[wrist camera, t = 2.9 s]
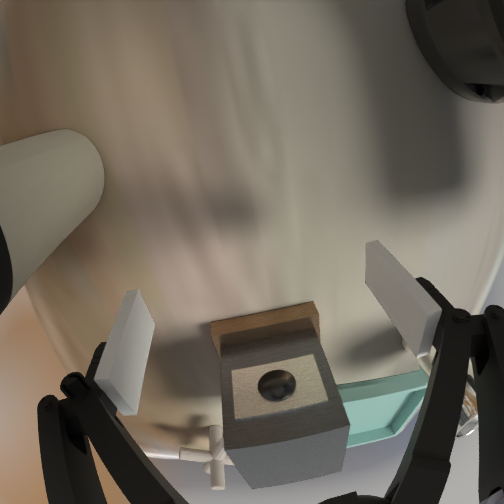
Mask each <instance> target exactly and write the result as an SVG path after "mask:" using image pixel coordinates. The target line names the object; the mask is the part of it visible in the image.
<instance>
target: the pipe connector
mask: <svg viewBox="0 0 504 504" xmlns="http://www.w3.org/2000/svg"><path fill="white" fill-rule="evenodd" d="M209 441H210V451H206V450H198V449H191V448H184V447H180V451H179V459H182V460H190V461H197V462H205V463H204V465H203V471H204V472H206V473H210V477H211V489H213V490H223V489H225V477H224V464H227V465H234V464H233V462H232V461H231V460H230V458H229V457H228V455H227V454H226V452H225V451H224V437H222V427H221V426H219V425H212V426H210V427H209Z"/></svg>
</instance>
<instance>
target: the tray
mask: <svg viewBox="0 0 504 504" xmlns="http://www.w3.org/2000/svg"><path fill="white" fill-rule="evenodd" d="M426 388H427V385H426V383H425V380H424V377H423V374H422V371H421V370H419V371H414V372H410V373H405V374H400V375H396V376H390V377H385V378H380V379H374V380H368V381H362V382H355V383H349V384H341V385H337V389H338V391H339V394H340V397H341V400H342V402H343V405H344V408H345V411H346V414H347V416H348V419H349V422H350V431H349V436H348V442H347V447H346V448H349V447H353V446H358V445H363V444H367V443H371V442H375V441H379V440H383V439H386V438H390V437H394V436H397V434H398V433H399V432H400V431H401V430H402V428H403V427H404V426H405V425H406V423H407V422H408V421H409V420H410V418H411V417H412V416H413V414H414V413H415V412H416V410H417V409H418V408H419V406H420V405H421V404H422V402H423V399H424V396H425V392H426Z"/></svg>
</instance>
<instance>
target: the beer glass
mask: <svg viewBox="0 0 504 504" xmlns="http://www.w3.org/2000/svg"><path fill="white" fill-rule="evenodd" d="M402 344H403V347H404V348H405V349H406V350H407V351H408V352H409V353H410V354H411V355H412V356H413V357H414V359H415V360H416V361H417V363H418V365H419V367H420V369H421V371H422V374H423V377H424V380H425V383H426V385H428V381H429V377H430V373H431V369H432V365H431V364H432V361H433V358H434V356H435V353H436V349H435V348H434V346H433V345H432V347H431V351H430V354H427V355H425V356H422V357H420V358H417V359H416V357H415V356H414V354H413V353H412V351H411V349H410V348H409V346H408V345H407V343H406V342H405V340H404V339H403V338H402ZM478 428H479V427H478V412H477V400H476V391H475V383H474V375H473V369H472V362H471V357H470V359H469V367H468V375H467V382H466V388H465V394H464V400H463V405H462V410H461V415H460V420H459V424H458V429H457V433H456V437H455V439H460V438H462V437H464V436H466V435H468V434H470V433H471V432H473V431H475V430H476V429H478Z"/></svg>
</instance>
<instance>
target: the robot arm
mask: <svg viewBox="0 0 504 504" xmlns="http://www.w3.org/2000/svg"><path fill="white" fill-rule="evenodd" d="M406 7H407V13H408V18H409V22H410V25H411V28H412V31H413V34H414V36H415V39H416V41H417V43H418V45H419V47H420V49H421V51H422V53H423V55H424V56H425V58H426V60H427V61H428V63H429V64H430V66H431V67H432V69H433V70H434V71H435V73H436V74H437V75H438V76H439V77H440V79H441V80H442V81H443V82H444V83H445V84H446V85H447V86H448V87H450V88H451V89H452V90H453V91H454V92H456V93H457V94H459V95H460V96H462V97H464V98H466V99H469V100H472V101H477V102H484V103H492V104H493V103H502V102H504V0H406ZM365 283H366V284H367V286H368V287H369V289H370V290H371V291H372V293H373V294H374V296H375V297H376V299H377V300H378V301H379V303H380V304H381V306H382V307H383V309H384V310H385V312H386V313H387V315H388V316H389V318H390V319H391V320H392V322H393V323H394V325H395V326H396V328H397V329H398V331H399V333H400V334H401V336H402V337H403V339H404V340H405V342H406V343H407V345H408V346H409V348H410V349H411V351H412V353H413V354H414V356H415V357H416V359H417V358H420V357H422V356H425V355H427V354H430V351H431V347H432V345H433V346H434V348H435V349H436V353H435V356H434V358H433V361H432V364H431V365H432V369H431V373H430V377H429V381H428V385H427V388H426V392H425V396H424V399H423V402H422V406H421V409H420V412H419V415H418V419H417V422H416V424H415V427H414V430H413V433H412V436H411V438H410V441H409V444H408V447H407V449H406V452H405V454H404V457H403V459H402V462H401V464H400V466H399V469H398V471H397V474H396V476H395V478H394V479H393V481H392V483H391V485H390V487H389V488H388V490H387V492H386V494H385V497H384V498H381V497H377V496H371V495H357V493H356V491H355V492H351V493H348V494H345V495H341V496H337V497H334V498H330V499H327V500H325V501H323V502H321V503H319V504H438V503H439V500H440V498H441V495H442V492H443V490H444V487H445V484H446V481H447V478H448V475H449V472H450V468H451V463H450V462H449V459H450V455H451V452H452V448H453V444H454V441H455V437H456V433H457V429H458V424H459V420H460V415H461V410H462V405H463V400H464V394H465V388H466V382H467V375H468V367H469V359H470V357H471V362H472V369H473V375H474V383H475V391H476V400H477V412H478V427H479V490H478V492H479V504H504V309H503V308H502V307H500V306H498V305H489V306H488V307H487V308H486V309H485V311H484V314H482V315H470V313H469V312H467V311H466V310H463V309H457V308H454V307H453V306H452V305H451V304H450V303H449V302H448V300H447V299H446V298H445V297H444V296H443V295H442V294H441V293H440V292H439V291H438V290H437V289H436V288H435V286H434V285H433V284H432V283H431V282H430V281H428V280H426V279H424V278H422V277H419V278H416V279H415V278H414V277H413V276H412V275H411V274H410V273H409V272H408V271H407V270H406V269H405V268H404V267H403V266H402V265H401V264H400V263H399V261H398V260H397V259H396V258H395V257H394V256H393V255H392V254H391V253H390V252H389V251H388V250H387V249H386V248H385V247H384V246H383V245H382V244H381V243H380V242H379V241H378V240H376V241H372V242H367V243H366V272H365ZM154 328H155V324H154V322H153V320H152V318H151V316H150V313H149V311H148V309H147V307H146V305H145V302H144V300H143V298H142V296H141V293H140V291H139V289H136V290H131V291H127V293H126V295H125V297H124V300H123V302H122V305H121V307H120V309H119V312H118V314H117V317H116V319H115V322H114V325H113V327H112V330H111V332H110V335H109V338H108V340H107V342H101V343H100V345H99V346H98V347H97V348H96V350H95V352H94V355H93V358H92V360H91V364H90V365H89V368H88V371H87V374H86V376H85V378H84V376H83V375H82V374H81V373H79V372H72V373H70V374H68V375H67V376H66V377H64V379H63V380H62V382H61V385H60V389H61V391H62V392H63V393H64V394H65V396H66V397H67V398H66V399H62V400H58V399H57V398H56V397H55V396H54V395H47V396H45V397H43V398H42V399H41V401H40V402H39V404H38V407H37V415H38V432H39V444H40V453H41V461H42V469H43V475H44V480H45V486H46V492H47V497H48V502H49V504H107V501H106V498H105V496H104V493H103V489H102V487H101V483H100V480H99V477H98V474H97V470H96V467H95V463H94V459H93V456H92V452H91V448H90V444H89V440H88V437H89V439H90V441H91V443H92V444H93V446H94V448H95V450H96V452H97V453H98V455H99V457H100V458H101V460H102V462H103V463H104V465H105V466H106V468H107V469H108V471H109V473H110V474H111V476H112V477H113V479H114V480H115V482H116V483H117V485H118V486H119V488H120V489H121V491H122V492H123V494H124V495H125V496H126V498H127V499H128V501H129V502H130V503H131V504H189V503H188V502H187V501H186V500H185V499H184V498H183V497H182V496H181V495H180V494H179V493H178V492H177V491H176V490H175V489H174V488H173V487H172V485H171V484H170V483H169V482H168V481H167V480H166V479H165V477H164V476H163V475H162V474H161V473H160V472H159V471H158V469H157V468H156V467H155V466H154V465H153V464H152V462H151V461H150V460H149V459H148V457H147V456H146V455H145V453H144V452H143V451H142V450H141V448H140V447H139V446H138V444H137V443H136V442H135V441H134V439H133V438H132V436H131V435H130V434H129V432H128V431H127V430H126V428H125V427H124V425H123V424H122V423H121V421H120V420H119V418H118V417H117V416H116V412H117V409H118V410H119V411H120V412H121V414H122V415H137V411H138V405H139V399H140V394H141V389H142V384H143V379H144V374H145V369H146V364H147V359H148V354H149V350H150V345H151V341H152V336H153V332H154Z"/></svg>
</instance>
